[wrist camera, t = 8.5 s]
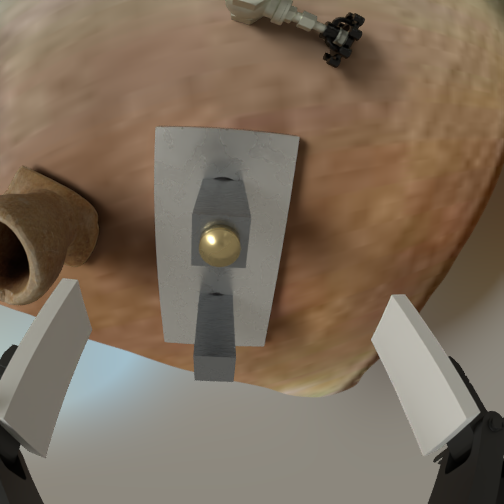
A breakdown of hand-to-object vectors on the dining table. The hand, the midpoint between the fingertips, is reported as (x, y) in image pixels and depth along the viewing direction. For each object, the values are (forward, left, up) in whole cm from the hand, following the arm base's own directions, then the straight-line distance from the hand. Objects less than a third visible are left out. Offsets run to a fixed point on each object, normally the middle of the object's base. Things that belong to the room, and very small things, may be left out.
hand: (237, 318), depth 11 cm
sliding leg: (+1, +2, -19) cm, 19 cm away
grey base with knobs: (+1, +9, -21) cm, 23 cm away
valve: (-3, -18, -22) cm, 28 cm away
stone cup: (+22, +4, -21) cm, 31 cm away
